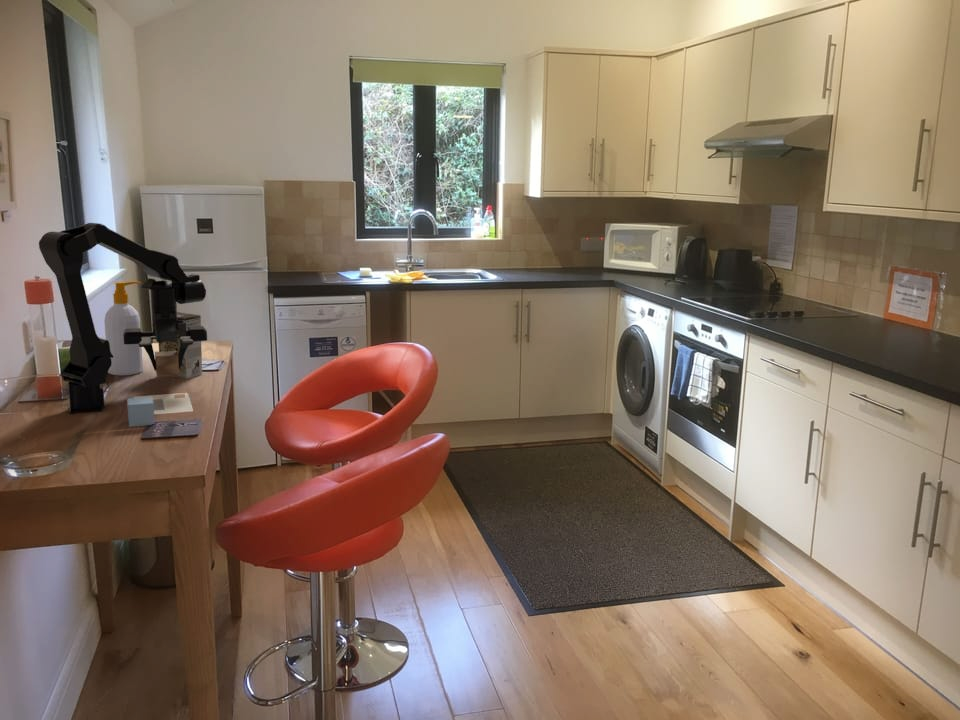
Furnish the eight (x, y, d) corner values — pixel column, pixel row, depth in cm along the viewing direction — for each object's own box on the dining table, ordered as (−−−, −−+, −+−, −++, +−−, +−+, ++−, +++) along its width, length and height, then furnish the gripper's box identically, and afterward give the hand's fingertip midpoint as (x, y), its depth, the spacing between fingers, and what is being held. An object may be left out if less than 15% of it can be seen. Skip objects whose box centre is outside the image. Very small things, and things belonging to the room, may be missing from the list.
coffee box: (158, 375, 214) (155, 314, 210) (176, 370, 220) (173, 310, 216) (186, 379, 211) (183, 317, 207) (203, 374, 217) (201, 314, 213)
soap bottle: (149, 373, 216) (144, 283, 210) (111, 377, 210) (105, 285, 205) (142, 366, 222) (136, 279, 217) (104, 370, 217) (98, 280, 212)
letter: (135, 416, 179) (135, 415, 179) (133, 397, 194) (133, 396, 194) (193, 411, 184) (193, 411, 184) (187, 393, 198) (187, 392, 198)
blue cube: (129, 427, 172) (127, 404, 171) (128, 421, 177) (127, 398, 176) (154, 425, 174) (153, 403, 173) (153, 419, 179) (152, 396, 178)
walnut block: (157, 376, 197) (155, 356, 196) (155, 371, 202) (154, 351, 200) (179, 375, 199) (178, 355, 198) (177, 370, 204) (176, 350, 202)
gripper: (122, 313, 186) (126, 380, 189) (208, 310, 193) (210, 374, 197) (121, 305, 196) (125, 369, 199) (203, 303, 203) (206, 364, 207)
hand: (167, 369), depth 200 cm, fingers closed on walnut block, 5 cm apart
